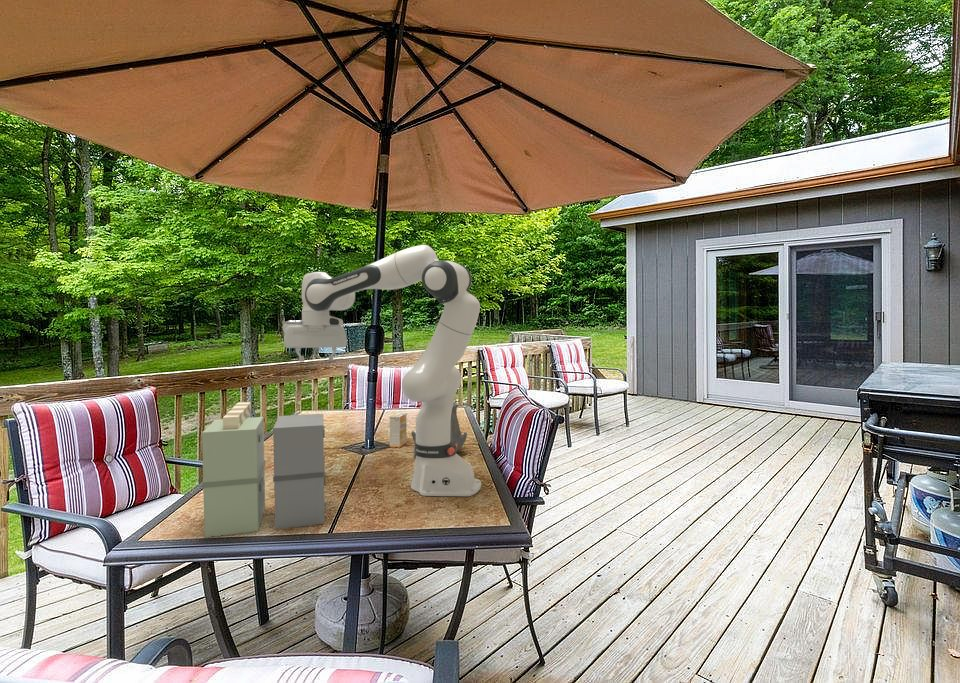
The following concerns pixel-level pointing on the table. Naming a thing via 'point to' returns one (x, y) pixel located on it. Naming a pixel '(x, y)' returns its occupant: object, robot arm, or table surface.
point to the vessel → (452, 430)
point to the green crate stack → (233, 477)
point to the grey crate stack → (299, 470)
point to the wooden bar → (237, 415)
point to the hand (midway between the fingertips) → (316, 361)
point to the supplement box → (398, 430)
